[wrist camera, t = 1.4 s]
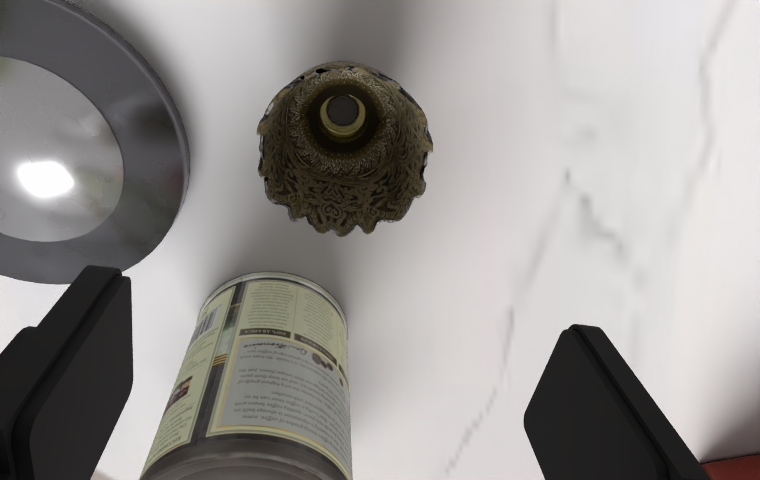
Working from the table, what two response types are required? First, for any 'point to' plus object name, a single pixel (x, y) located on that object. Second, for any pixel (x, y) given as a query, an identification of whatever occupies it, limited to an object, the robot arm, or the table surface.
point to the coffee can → (260, 388)
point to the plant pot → (734, 469)
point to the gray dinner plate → (81, 146)
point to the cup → (344, 149)
